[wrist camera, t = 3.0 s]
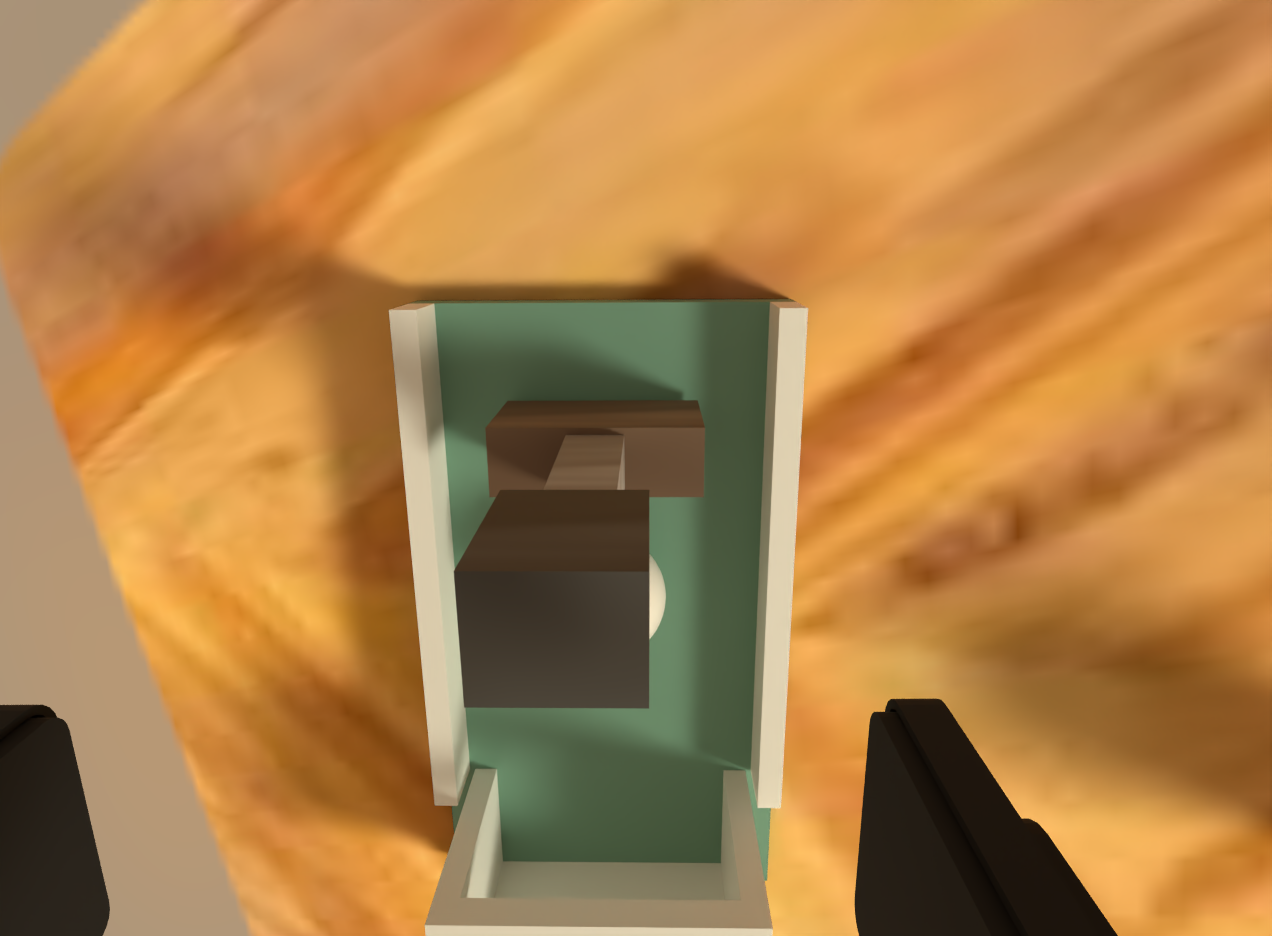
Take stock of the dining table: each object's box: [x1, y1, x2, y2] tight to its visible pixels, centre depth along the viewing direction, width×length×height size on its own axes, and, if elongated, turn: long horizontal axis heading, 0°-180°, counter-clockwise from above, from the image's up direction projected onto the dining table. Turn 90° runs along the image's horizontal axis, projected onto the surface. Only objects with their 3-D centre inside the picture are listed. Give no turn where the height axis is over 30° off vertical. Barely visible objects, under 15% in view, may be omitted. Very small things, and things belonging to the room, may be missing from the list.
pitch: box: [389, 299, 808, 936], centre depth 25 cm, size 22×12×8 cm, turn 0°
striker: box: [454, 400, 705, 709], centre depth 19 cm, size 2×6×14 cm, turn 90°
